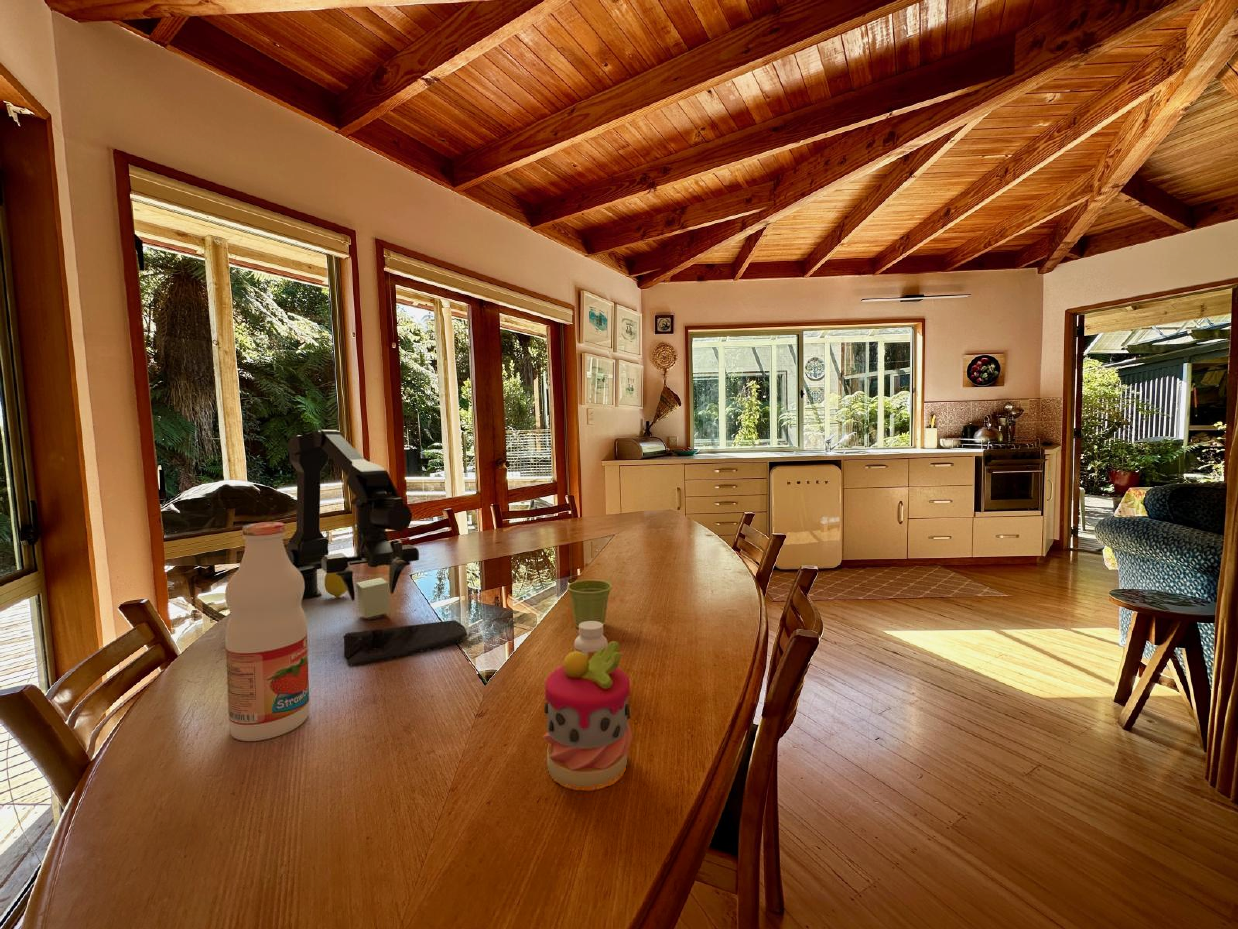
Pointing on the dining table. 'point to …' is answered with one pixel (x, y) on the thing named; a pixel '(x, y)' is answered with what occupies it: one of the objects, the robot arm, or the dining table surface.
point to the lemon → (334, 585)
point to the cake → (588, 718)
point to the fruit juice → (266, 639)
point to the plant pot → (589, 600)
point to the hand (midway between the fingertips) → (372, 596)
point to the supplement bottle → (590, 638)
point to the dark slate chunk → (400, 641)
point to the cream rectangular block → (373, 597)
